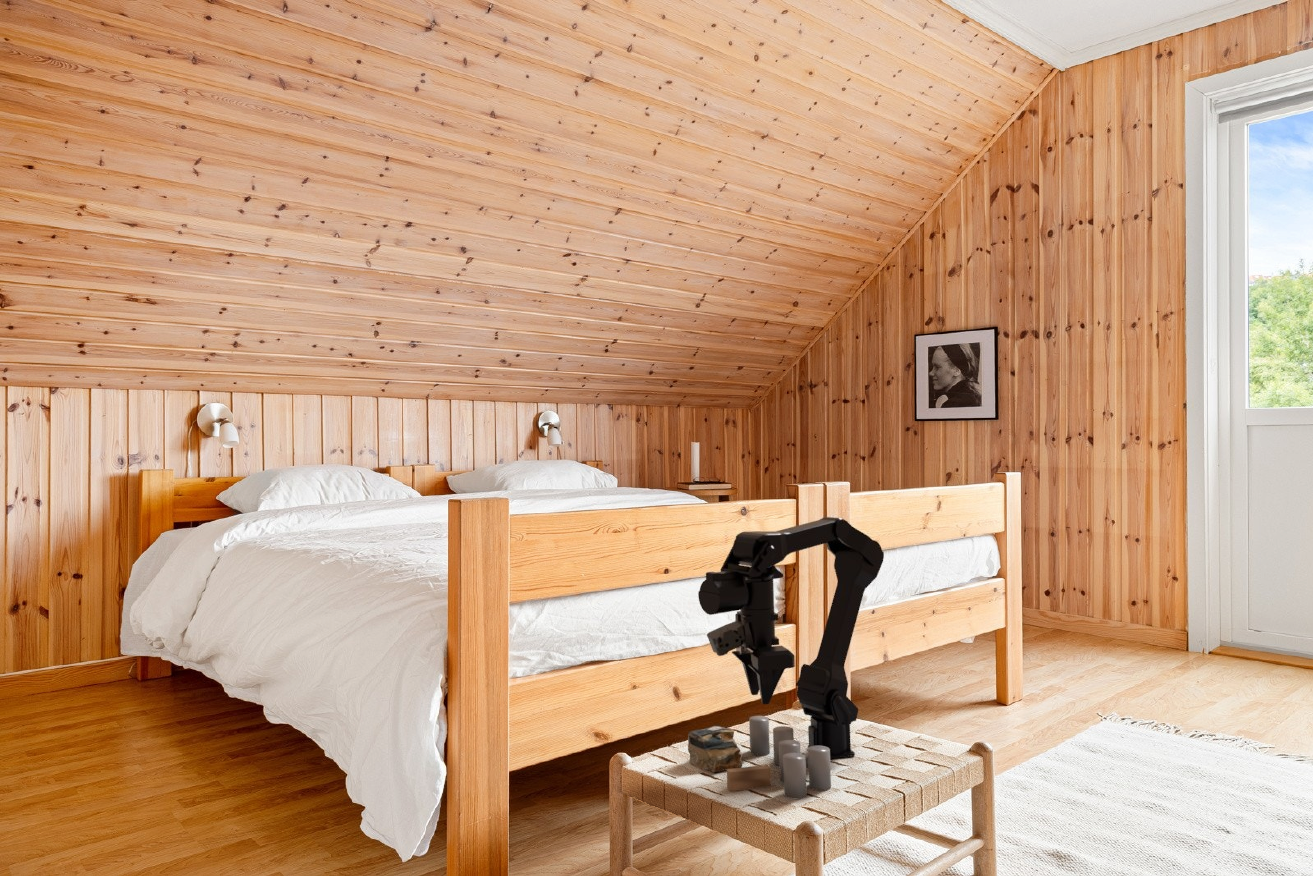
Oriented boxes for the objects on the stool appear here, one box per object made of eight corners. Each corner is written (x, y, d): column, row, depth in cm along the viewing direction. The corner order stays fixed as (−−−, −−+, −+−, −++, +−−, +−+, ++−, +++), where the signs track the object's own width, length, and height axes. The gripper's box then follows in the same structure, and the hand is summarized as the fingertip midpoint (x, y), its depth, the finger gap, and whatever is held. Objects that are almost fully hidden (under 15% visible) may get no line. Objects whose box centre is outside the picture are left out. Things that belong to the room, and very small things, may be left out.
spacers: (786, 745, 164) (785, 713, 164) (839, 793, 141) (838, 755, 141) (742, 750, 163) (741, 717, 163) (788, 800, 140) (787, 761, 140)
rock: (716, 776, 151) (715, 743, 151) (681, 761, 158) (680, 729, 158) (753, 764, 156) (752, 732, 156) (718, 750, 163) (717, 719, 163)
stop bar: (768, 783, 147) (767, 764, 147) (771, 786, 145) (770, 767, 145) (727, 787, 145) (726, 769, 145) (729, 791, 144) (729, 772, 144)
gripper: (696, 600, 159) (699, 689, 158) (727, 620, 140) (730, 720, 140) (756, 596, 161) (759, 683, 161) (794, 615, 143) (797, 713, 143)
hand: (759, 699), depth 151 cm, fingers open, 5 cm apart
